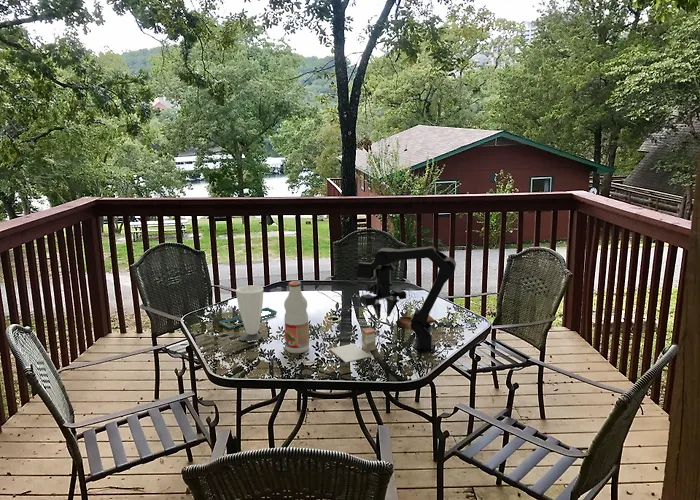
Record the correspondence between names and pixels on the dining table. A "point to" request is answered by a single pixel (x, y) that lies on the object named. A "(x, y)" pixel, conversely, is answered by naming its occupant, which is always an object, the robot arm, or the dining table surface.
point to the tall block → (368, 339)
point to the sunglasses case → (406, 322)
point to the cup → (250, 310)
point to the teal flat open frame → (241, 317)
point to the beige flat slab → (350, 352)
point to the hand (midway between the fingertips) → (383, 317)
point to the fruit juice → (296, 320)
